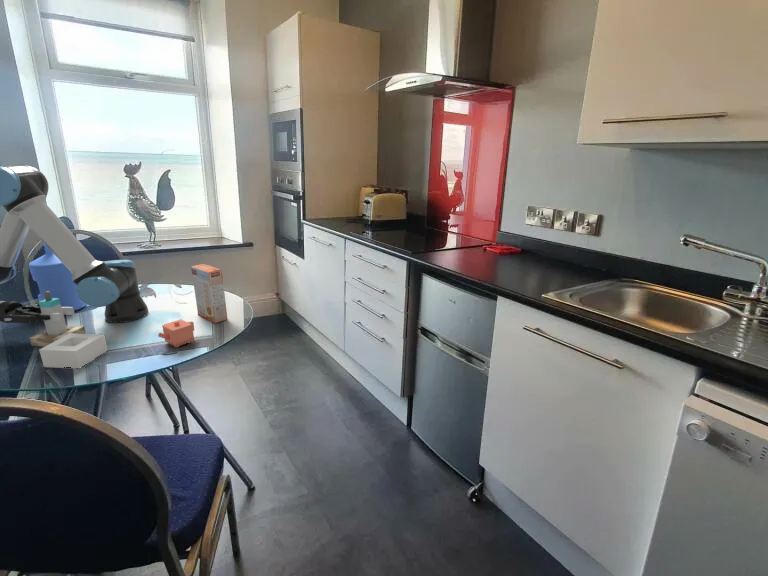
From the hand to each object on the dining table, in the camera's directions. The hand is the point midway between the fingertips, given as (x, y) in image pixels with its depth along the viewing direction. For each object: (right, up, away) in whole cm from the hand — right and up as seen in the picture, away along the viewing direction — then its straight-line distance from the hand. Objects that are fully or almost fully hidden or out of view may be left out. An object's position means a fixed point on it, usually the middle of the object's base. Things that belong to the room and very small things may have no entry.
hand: (66, 313), depth 146 cm
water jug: (-26, 0, +33) cm, 42 cm away
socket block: (+11, -14, -10) cm, 20 cm away
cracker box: (+41, -3, +23) cm, 48 cm away
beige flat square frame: (-5, -9, +4) cm, 11 cm away
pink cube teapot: (+39, -11, 0) cm, 40 cm away
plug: (-5, -9, +4) cm, 11 cm away
